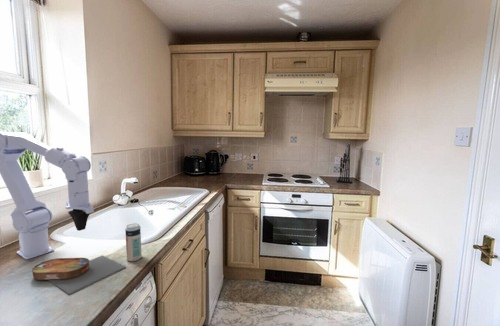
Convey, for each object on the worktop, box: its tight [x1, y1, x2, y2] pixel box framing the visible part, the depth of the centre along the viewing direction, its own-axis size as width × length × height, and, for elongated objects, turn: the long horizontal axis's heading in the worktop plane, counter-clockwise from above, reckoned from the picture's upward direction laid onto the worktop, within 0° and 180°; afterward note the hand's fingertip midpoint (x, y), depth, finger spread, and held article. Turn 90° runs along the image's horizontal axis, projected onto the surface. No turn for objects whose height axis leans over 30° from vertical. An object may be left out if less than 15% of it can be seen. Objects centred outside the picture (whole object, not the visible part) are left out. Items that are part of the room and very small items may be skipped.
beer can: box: [124, 223, 142, 262], centre depth 84 cm, size 5×5×12 cm
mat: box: [48, 255, 127, 296], centre depth 75 cm, size 14×16×1 cm
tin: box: [31, 257, 89, 281], centre depth 74 cm, size 15×3×8 cm
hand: (81, 229), depth 86 cm, fingers closed
